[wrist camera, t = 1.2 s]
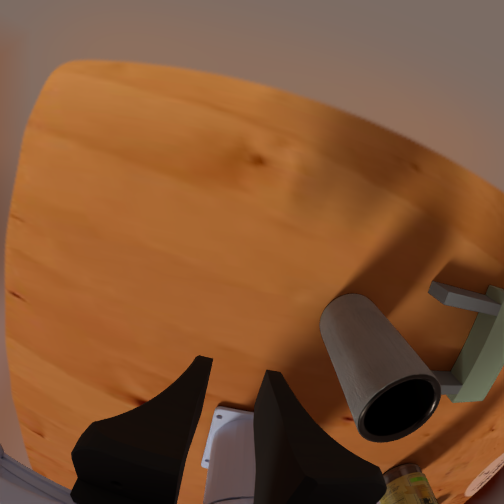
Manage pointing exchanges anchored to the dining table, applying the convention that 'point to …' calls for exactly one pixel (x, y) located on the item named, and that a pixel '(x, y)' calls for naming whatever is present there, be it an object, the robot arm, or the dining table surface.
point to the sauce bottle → (407, 486)
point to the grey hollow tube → (377, 370)
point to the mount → (474, 343)
